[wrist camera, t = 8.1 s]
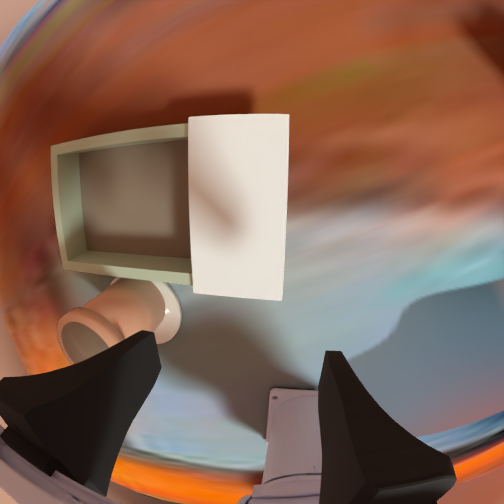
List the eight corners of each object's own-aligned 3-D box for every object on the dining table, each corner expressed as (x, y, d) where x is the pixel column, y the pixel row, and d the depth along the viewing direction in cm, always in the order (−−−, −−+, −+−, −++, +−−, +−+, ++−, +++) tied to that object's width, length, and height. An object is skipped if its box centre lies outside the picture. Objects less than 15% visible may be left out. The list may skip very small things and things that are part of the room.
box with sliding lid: (284, 277, 20) (281, 300, 17) (84, 260, 23) (60, 274, 19) (290, 122, 17) (289, 114, 14) (74, 141, 19) (46, 142, 16)
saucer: (186, 346, 24) (183, 350, 23) (119, 333, 25) (116, 336, 24) (178, 272, 22) (175, 275, 21) (105, 265, 22) (101, 267, 22)
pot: (173, 335, 23) (132, 395, 16) (118, 325, 24) (71, 374, 16) (164, 273, 21) (111, 323, 14) (106, 268, 22) (46, 308, 15)
